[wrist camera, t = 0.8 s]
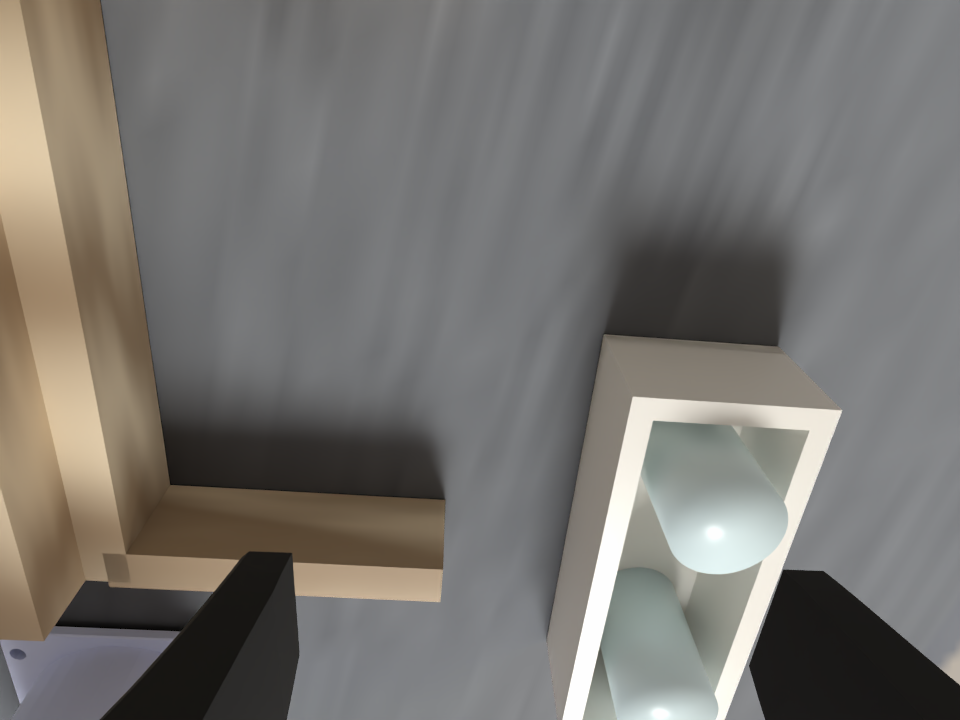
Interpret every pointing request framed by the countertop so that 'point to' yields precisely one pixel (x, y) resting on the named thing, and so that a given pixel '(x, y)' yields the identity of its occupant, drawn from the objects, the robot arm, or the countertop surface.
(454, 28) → the countertop surface
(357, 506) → the light wooden angled piece
